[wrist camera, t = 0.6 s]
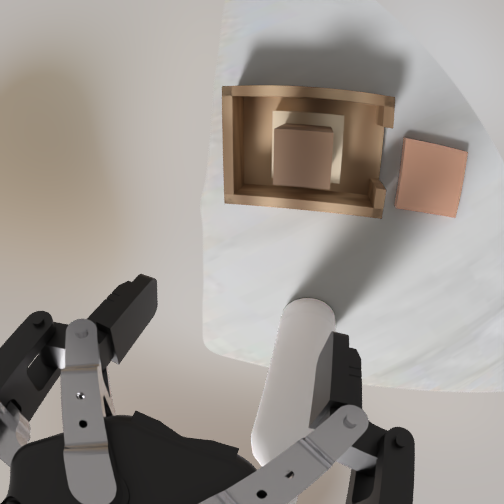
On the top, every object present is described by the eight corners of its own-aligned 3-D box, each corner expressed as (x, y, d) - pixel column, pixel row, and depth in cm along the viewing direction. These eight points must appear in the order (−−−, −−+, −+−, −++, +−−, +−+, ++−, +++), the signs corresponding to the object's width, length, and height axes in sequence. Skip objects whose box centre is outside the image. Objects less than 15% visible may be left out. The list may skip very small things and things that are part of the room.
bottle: (344, 327, 41) (329, 540, 15) (298, 344, 44) (255, 536, 19) (320, 288, 39) (285, 530, 13) (270, 308, 42) (202, 519, 16)
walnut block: (331, 126, 26) (333, 133, 20) (328, 170, 28) (329, 189, 22) (285, 123, 27) (274, 128, 21) (283, 166, 29) (272, 184, 23)
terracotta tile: (464, 150, 26) (467, 152, 25) (452, 214, 30) (455, 217, 29) (403, 137, 27) (405, 138, 26) (394, 205, 31) (396, 208, 30)
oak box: (384, 98, 26) (395, 97, 22) (374, 202, 32) (381, 218, 27) (236, 88, 29) (221, 86, 25) (237, 189, 35) (224, 203, 30)
